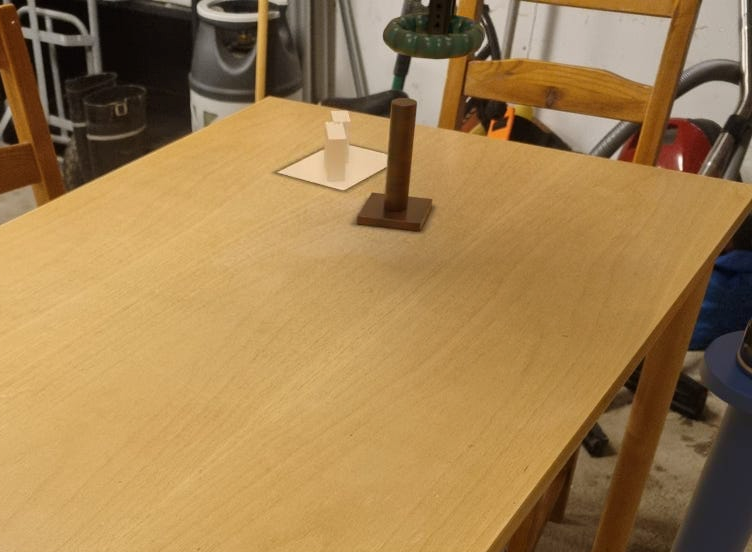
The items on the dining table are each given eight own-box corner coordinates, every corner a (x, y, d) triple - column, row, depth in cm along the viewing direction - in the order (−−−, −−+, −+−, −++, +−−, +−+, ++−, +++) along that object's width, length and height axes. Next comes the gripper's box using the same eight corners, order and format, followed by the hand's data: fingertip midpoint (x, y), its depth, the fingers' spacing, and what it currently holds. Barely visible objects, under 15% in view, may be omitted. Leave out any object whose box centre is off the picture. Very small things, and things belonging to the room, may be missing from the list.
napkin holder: (344, 190, 124) (346, 144, 120) (276, 172, 129) (276, 127, 125) (402, 157, 132) (406, 113, 128) (336, 141, 137) (338, 98, 133)
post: (431, 206, 120) (444, 94, 111) (419, 231, 115) (431, 115, 105) (371, 200, 122) (378, 88, 112) (356, 224, 116) (363, 109, 107)
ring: (488, 37, 96) (491, 14, 95) (475, 65, 90) (478, 41, 88) (393, 29, 98) (395, 7, 97) (374, 56, 92) (375, 33, 90)
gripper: (496, -176, 79) (465, 58, 91) (515, -193, 88) (484, 21, 101) (409, -179, 80) (390, 51, 93) (436, -195, 89) (416, 16, 102)
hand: (439, 35), depth 97 cm, fingers closed on ring, 2 cm apart
